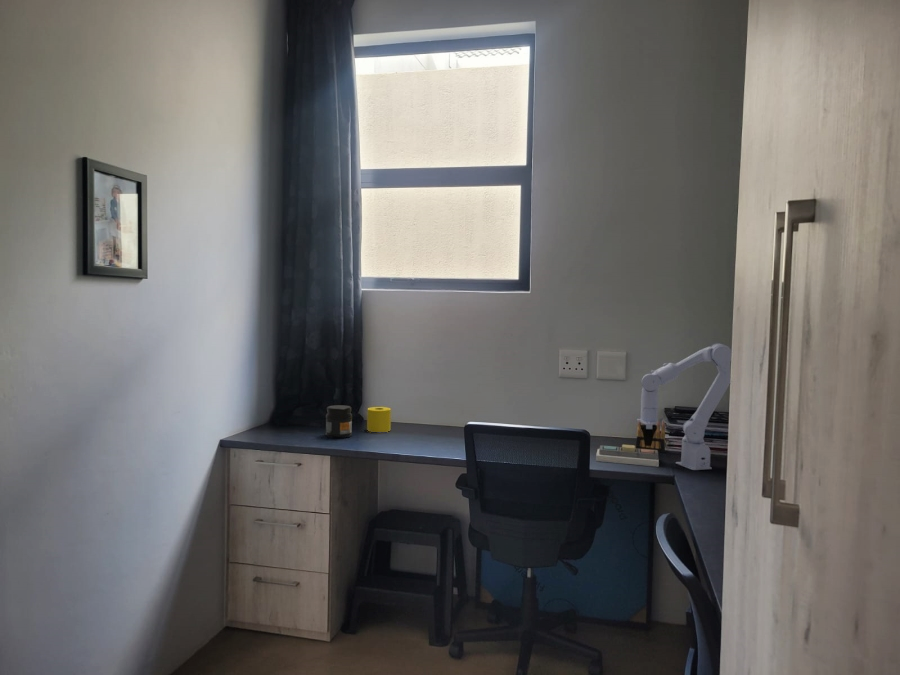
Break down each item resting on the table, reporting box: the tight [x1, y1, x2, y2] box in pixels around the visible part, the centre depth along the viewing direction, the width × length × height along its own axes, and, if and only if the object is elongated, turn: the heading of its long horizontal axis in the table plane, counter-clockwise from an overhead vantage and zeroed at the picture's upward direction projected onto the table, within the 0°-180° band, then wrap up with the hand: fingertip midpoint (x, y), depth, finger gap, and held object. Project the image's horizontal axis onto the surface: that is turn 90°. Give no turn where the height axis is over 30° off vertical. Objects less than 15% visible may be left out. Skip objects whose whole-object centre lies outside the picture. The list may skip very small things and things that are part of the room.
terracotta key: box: [641, 449, 654, 454], centre depth 218 cm, size 4×4×2 cm
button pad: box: [595, 445, 660, 468], centre depth 220 cm, size 21×11×4 cm, turn 74°
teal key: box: [603, 445, 617, 450], centre depth 222 cm, size 4×4×2 cm
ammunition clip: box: [635, 419, 666, 453], centre depth 237 cm, size 11×2×12 cm, turn 64°
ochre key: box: [621, 444, 636, 452], centre depth 220 cm, size 4×4×2 cm
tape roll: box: [366, 406, 392, 433], centre depth 262 cm, size 10×10×9 cm
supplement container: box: [325, 404, 353, 439], centre depth 249 cm, size 10×10×12 cm
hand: (647, 445), depth 218 cm, fingers closed
